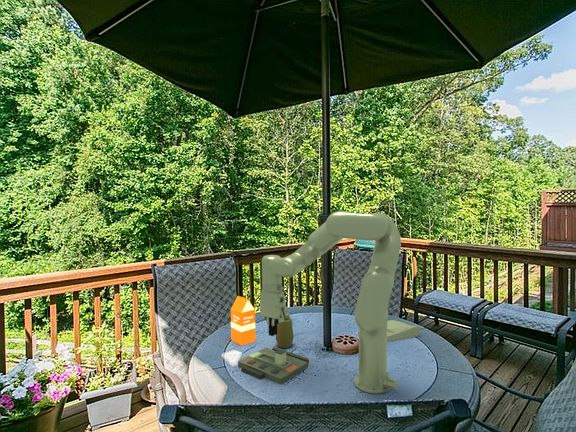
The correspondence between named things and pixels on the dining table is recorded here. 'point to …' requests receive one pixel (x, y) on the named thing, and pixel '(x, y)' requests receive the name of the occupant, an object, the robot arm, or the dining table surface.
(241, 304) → the orange juice
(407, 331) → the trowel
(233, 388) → the dining table surface
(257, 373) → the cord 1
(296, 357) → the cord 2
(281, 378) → the breaker panel
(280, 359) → the breaker lever
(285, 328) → the squeeze bottle
